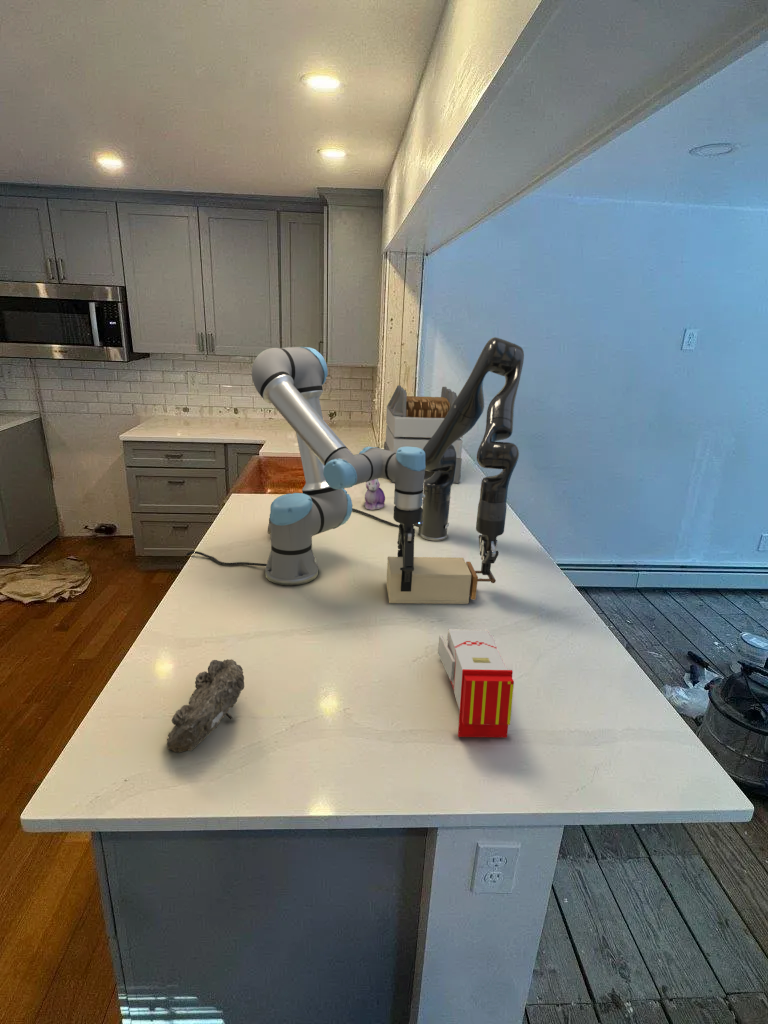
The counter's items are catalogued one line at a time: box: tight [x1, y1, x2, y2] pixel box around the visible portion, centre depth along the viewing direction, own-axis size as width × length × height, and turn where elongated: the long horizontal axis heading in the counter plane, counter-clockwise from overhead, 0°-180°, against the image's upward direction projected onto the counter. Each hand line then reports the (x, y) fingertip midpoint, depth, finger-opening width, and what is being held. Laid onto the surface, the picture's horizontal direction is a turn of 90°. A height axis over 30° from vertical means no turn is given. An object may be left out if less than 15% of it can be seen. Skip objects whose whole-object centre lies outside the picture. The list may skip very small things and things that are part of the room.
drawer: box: [465, 561, 497, 601], centre depth 158 cm, size 26×10×7 cm, turn 94°
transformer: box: [383, 384, 464, 484], centre depth 268 cm, size 34×33×41 cm
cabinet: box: [385, 556, 471, 605], centre depth 157 cm, size 22×11×9 cm, turn 94°
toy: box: [437, 628, 515, 738], centre depth 117 cm, size 12×13×30 cm
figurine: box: [363, 478, 386, 511], centre depth 223 cm, size 9×10×15 cm
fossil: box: [166, 658, 245, 754], centre depth 106 cm, size 22×10×15 cm
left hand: (403, 580), depth 157 cm, fingers closed on cabinet, 11 cm apart
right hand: (485, 573), depth 158 cm, fingers closed
